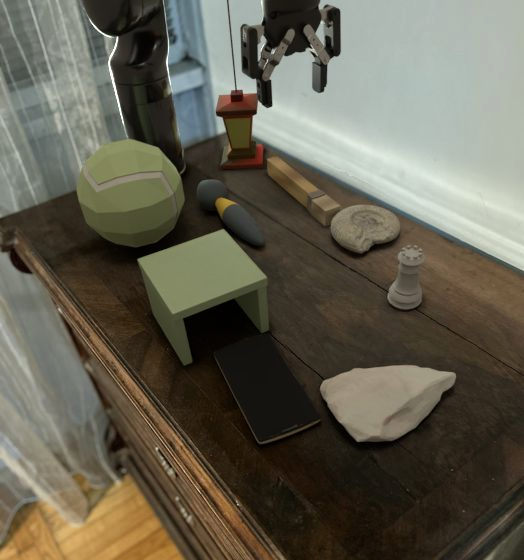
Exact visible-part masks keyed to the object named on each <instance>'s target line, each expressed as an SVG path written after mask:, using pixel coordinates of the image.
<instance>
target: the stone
mask: <svg viewBox="0 0 524 560" xmlns="http://www.w3.org/2000/svg"><path fill="white" fill-rule="evenodd" d="M456 379H457V375H456V373H455V372H453V371H442V370H437V369H435V368H434V369H433V368H430V367H420V366H418V365H414V364H412V365H411V364H403V365H401V364H400V365H387V366H375V367H369V368H362V367H353V368H352V369H351V370H349V371H345V372H341V373H339V374H337V375H335V376H333V377H330V378H327V379H324V380H323V381H322V383H321V384H320V388H319V391H320V394H321V396H322V399H323V400H324V401H325V402H326V403H327V408H328V409H329V410H330V412H331V413H332V414H333V416H334V418H335V419H336V420H337V422H339V424H341V425H342V426H343V427H344V429H345V430H346V432H347V433H348V434H349V436H351V437H352V438H353V439H354V440H355V441H356V442H357V443H361V442H364V443H365V442H371V443H372V442H373V443H374V442H375V443H378V442H393V441H395V440H397V439H399V438H401V437H403V436H404V435H406V434H407V433H409V432H411V431H412V430H415V429H416V428H417V427H418V426H419V424H420V423H421V422H422V421H423V420H424V419H425V418H426V417H427V416H429V414H430V413H431V412H432V410H433V409H434V408H435V407H436V405H437V404H438V403H439V402H440V401H441V397H442V395H443V393H444V392H446V391H448V390H450V389H451V388H452V387H453V386H454V384H455V383H456Z"/></svg>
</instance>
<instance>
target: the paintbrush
mask: <svg viewBox="0 0 524 560" xmlns="http://www.w3.org/2000/svg"><path fill="white" fill-rule="evenodd" d="M228 195H229V194H228V190H227V187H226V185H225V184H224V183H223V182H222V181H220V180H218V179H214V178H213V179H212V178H211V179H205V180H204V179H203V180H201V181H200V182H199V183H198V184H197V188H196V198H197V201H198V203H199V205H200V206H201V207H202V209H204V210H206V211H209V212H216V211H217V213H218V214H219V216H220V219H221V220H222V222H223V223H224V225H225V226H226V227H228V228H229V230H231V231H232V232H233V233H234V234H235V235H237V236H238V237H240V238H241V239H243V240H244V241H245V242H248V243H250V244H252V245H255V246H257V247H258V246H260V247H263V246H264V245H265V242H266V241H265V237H264V234H263V232H262V230H261V228H260V226H259V225H258V224H257V222H256V221H255V220H254V218H253V217H252V215H250V214H249V213H248V211H247V210H246V209H245V208H244V207H243V206H241V204H238V203H236V202H234V201H232V200H229V199H228V197H229V196H228Z"/></svg>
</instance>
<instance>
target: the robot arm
mask: <svg viewBox="0 0 524 560" xmlns="http://www.w3.org/2000/svg"><path fill="white" fill-rule="evenodd" d="M81 4H82V7H83V11H84V12H85V14H86V16H87V18H88V20H89V21H90V23H91V24H92V25H93V27H94V28H95V30H97V32H99V33H100V34H102V35H104V36H106V37H108V38H116V42H115V45H114V49H113V51H112V53H111V54H110V56H109V59H108V68H109V73H110V77H111V81H112V86H113V88H114V92H115V93H114V94H115V97H116V100H117V104H118V108H119V113H120V116H121V120H122V124H123V125H122V126H123V129H124V133H125V137H126V139H133V140H136V141H139V142H142V143H145V144H148V145H152V146H155V147H158V148H159V149H160V150H161V151H162V152H163V154H164V155H165V156H166V157H167V158H168V159H169V160H170V161H171V163H172V164H173V165H174V166H175V167H176V169H177V171H178V173H179V175H180V177H181V178H182V177H183V176H184V175H185V173H186V171H187V165H186V161H185V157H184V155H185V148H184V147H183V146H182V139H181V135H180V129H179V122H178V117H177V112H176V111H177V110H176V106H175V100H174V95H173V89H172V83H171V78H170V72H169V66H168V57H169V51H170V40H169V33H168V24H167V16H166V9H165V2H164V0H81ZM320 4H321V0H260V5H261V9H262V19H261V22H260V24H254V25H249V24H248V23H242V24H241V26H240V29H239V35H240V36H239V37H240V63H241V64H240V65H241V73H242V74H243V75H245V76H247V77H248V78H250V79H251V80H255V85H256V93H257V99H258V103H260V104H261V105H262V106H263V107H264V108H266V109H269V108H272V107H273V106H274V104H273V83H272V80H271V79H270V78H271V77H272V75H273V72H274V70H275V69H276V67H277V66H279V65H280V63H281V61H282V59H283V57H290V56H292V55H293V54H295V53H300V54H301V53H305V52H306V51H308V53H309V55H311V57H312V59H314V61H311V88H312V90H313V91H314V92H316V93H318V94H321V93H324V92H325V88H326V87H327V85H328V65H329V63H330V61H331V60H332V59H333V58H338V57H339V56H340V55H341V53H342V35H341V34H342V30H341V29H342V28H341V27H342V25H341V24H342V23H341V19H342V18H341V15H342V14H341V9H340V8H339V7H336V6H334V5H331V4H328V3H327V4H325V5H324V6H323V7H322V8H321V9H320V7H319V5H320ZM320 25H322V29H323V30H322V32H323V43H322V41H321V40H320V38H319V37H318V35H317V34H316V33H317V31H318V29H319V27H320ZM262 37H264V39H265V41H264V44H263V45H262V48H261V49H260V52H259V51H258V50H259V45H260V44H261V42H262V41H261V40H262ZM272 52H273V53H272Z"/></svg>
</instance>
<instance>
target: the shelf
mask: <svg viewBox="0 0 524 560" xmlns="http://www.w3.org/2000/svg"><path fill="white" fill-rule="evenodd" d="M136 260H137V264H138V267H139V269H140V272H141V276H142V279H143V283H144V287H145V290H146V293H147V297H148V301H149V304H150V308H151V311H152V315H153V317H154V319H155V320H156V322H157V324H158V325H159V326H160V328H161V331H162V332H163V333H164V336H165V337H166V339H167V340H168V341H169V342H168V343H170V345H171V347H172V348H173V350H174V351H175V353H176V356H178V358H179V360H180V362H181V363H182V365H183V366H187V365H189V364H192V363H193V357H192V353H191V349H190V344H189V339H188V336H187V330H186V326H185V322H184V319H185V318H188V317H190V316H192V315H193V316H194V315H196V314H199V313H200V312H202V311H205V310H208V309H210V308H213V307H215V306H219V305H221V304H223V303H226V302H229V301H231V300H233V299H234V301H235V302H236V303H237V305H238V306H239V307H240V308H241V309H242V310H243V312H244V313H245V314H246V315H247V317H248V319H250V320H251V322H252V323H253V324H254V326H255V327H256V329H258V331H259V333H261V334H263V333H266V332H268V331H270V320H269V307H268V306H269V305H268V294H267V293H268V292H267V286H269V283H268V281H269V280H268V277H267V275H266V274H265V273H264V272H263V271H262V270H261V269H260V268H259V266H258V265H257V264H256V263H255V261H253V260H252V259H251V257H250V256H249V255H248V254H247V253H246V252H245V251H244V250H243V249H242V247H241V246H240V245H239V244H238V243H237V241H235V240H234V238H233V237H232V236H231V235H230V234H229V233H228V231H226V230H225V229H224V228H222V229H219V230H217V231H215V232H211V233H208V234H205V235H202V236H199V237H197V238H194V239H191V240H188V241H185V242H182V243H179V244H177V245H176V244H175V245H173V246H171V247H168V248H166V249H163V250H159V251H157V252H154V253H150V254H148V255H145V256H142V257H139V258H137V259H136Z"/></svg>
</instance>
